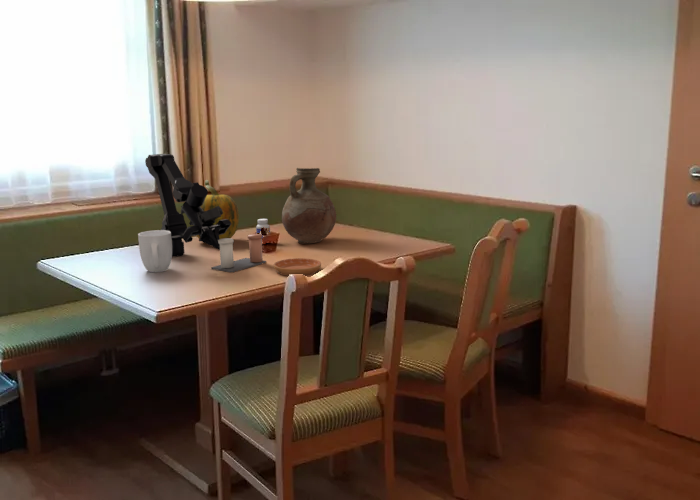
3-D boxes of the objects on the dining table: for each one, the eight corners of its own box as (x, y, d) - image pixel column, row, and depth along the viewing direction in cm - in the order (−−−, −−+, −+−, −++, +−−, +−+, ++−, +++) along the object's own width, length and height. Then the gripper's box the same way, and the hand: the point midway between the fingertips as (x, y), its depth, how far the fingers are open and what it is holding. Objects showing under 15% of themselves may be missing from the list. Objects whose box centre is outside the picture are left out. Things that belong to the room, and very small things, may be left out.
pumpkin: (205, 237, 309) (202, 178, 304) (248, 238, 304) (244, 178, 299) (184, 246, 292) (179, 183, 287) (228, 248, 287) (225, 184, 281)
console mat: (211, 269, 254) (211, 267, 254) (245, 259, 267) (245, 257, 267) (232, 272, 248) (231, 270, 248) (266, 262, 261) (266, 261, 261)
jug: (347, 239, 298) (345, 165, 292) (316, 250, 280) (314, 171, 274) (303, 235, 310) (301, 163, 303) (271, 244, 292) (268, 169, 285)
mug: (173, 275, 246) (171, 237, 243) (139, 277, 244) (136, 239, 241) (174, 265, 260) (171, 229, 258) (141, 267, 258) (138, 231, 255)
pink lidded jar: (245, 261, 260) (244, 235, 258) (256, 258, 264) (254, 233, 262) (256, 263, 257) (255, 236, 255) (266, 260, 261) (265, 234, 259)
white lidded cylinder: (216, 267, 252) (214, 240, 250) (227, 264, 257) (225, 237, 255) (227, 269, 249) (225, 241, 247) (238, 265, 254) (236, 239, 252)
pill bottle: (268, 244, 292) (267, 220, 289) (255, 244, 293) (253, 220, 291) (272, 242, 297) (271, 218, 295) (259, 241, 298) (258, 218, 296)
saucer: (326, 267, 254) (326, 258, 254) (314, 278, 239) (313, 269, 238) (282, 265, 258) (282, 257, 257) (267, 276, 243) (267, 268, 242)
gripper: (185, 203, 246) (210, 238, 241) (226, 196, 260) (250, 229, 256) (171, 224, 252) (196, 259, 248) (211, 216, 267) (235, 249, 262)
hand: (220, 248), depth 253 cm, fingers closed
